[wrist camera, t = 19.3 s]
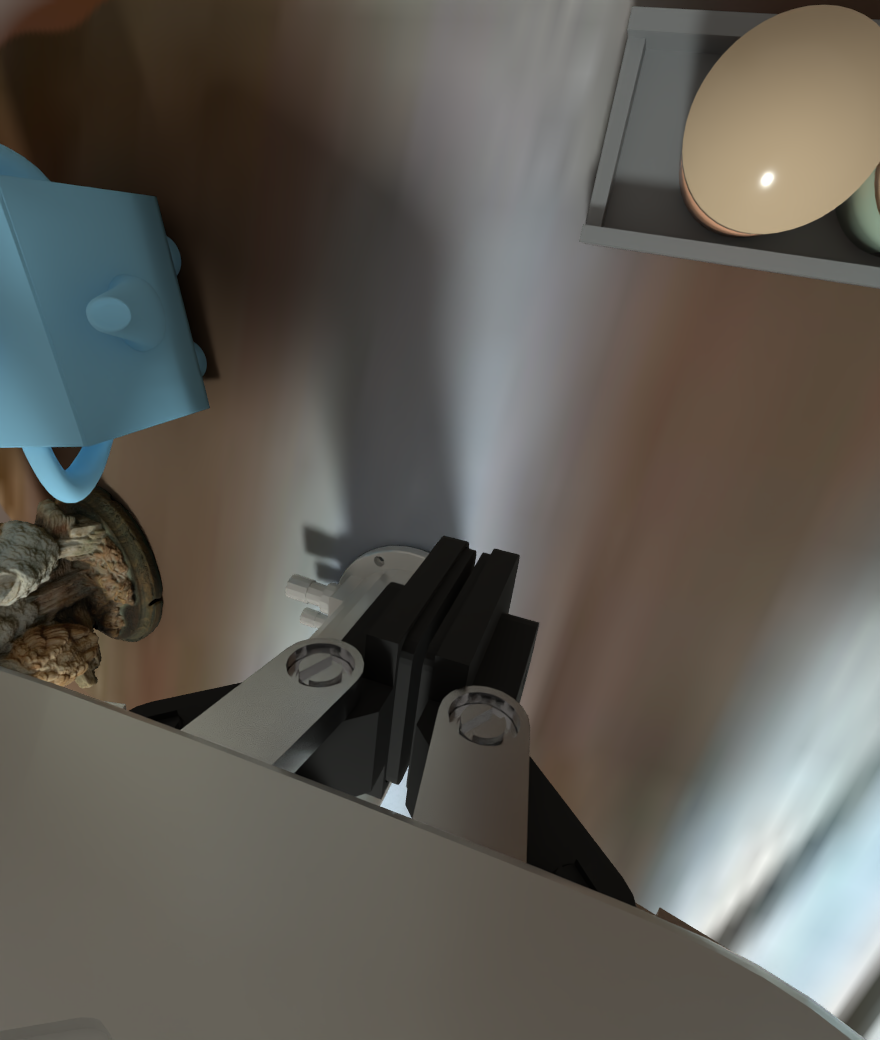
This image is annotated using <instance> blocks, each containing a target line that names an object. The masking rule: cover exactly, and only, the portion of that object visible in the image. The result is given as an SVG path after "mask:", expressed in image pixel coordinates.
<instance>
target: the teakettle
mask: <svg viewBox="0 0 880 1040" xmlns="http://www.w3.org/2000/svg"><path fill="white" fill-rule="evenodd" d="M180 268H181V256H180V252H179V250H178V248H177V246H176V244H175V243H174V242H173V241H172V239H170V238H169V237H167V236H166V232H165V228H164V224H163V220H162V216H161V212H160V209H159V205H158V201H157V197H156V196H149V195H142V194H135V193H127V192H120V191H113V190H106V189H99V188H92V187H84V186H77V185H70V184H63V183H56V182H51V181H50V180H49V179H48V178H47V177H46V176H45V175H44V174H43V173H42V172H41V171H40V170H39V169H38V168H37V167H36V166H35V165H33V164H32V163H31V162H30V161H28V160H27V159H26V158H24V157H23V156H21V155H20V154H18V153H16V152H15V151H13V150H11V149H9V148H8V147H6V146H4V145H1V144H0V448H10V447H22V449H23V451H24V453H25V455H26V457H27V459H28V461H29V463H30V465H31V467H32V469H33V471H34V472H35V474H36V476H37V477H38V479H39V480H40V482H41V483H42V485H43V486H44V487H45V489H46V490H47V491H48V492H49V493H50V494H51V495H52V496H53V497H54V498H56V499H58V500H60V501H62V502H65V503H76V502H79V501H81V500H83V499H84V498H85V497H87V496H88V495H89V494H90V493H91V491H92V490H93V489H94V487H95V486H96V484H97V482H98V481H99V479H100V477H101V475H102V473H103V471H104V468H105V465H106V462H107V459H108V456H109V453H110V449H111V446H112V442H113V439H114V438H117V437H121V436H124V435H127V434H130V433H133V432H136V431H139V430H142V429H146V428H149V427H152V426H155V425H158V424H161V423H164V422H167V421H170V420H174V419H177V418H180V417H183V416H186V415H189V414H192V413H195V412H199V411H202V410H205V409H208V408H210V406H209V402H208V398H207V394H206V390H205V386H204V382H203V378H202V376H203V375H204V374H205V372H206V368H207V362H206V357H205V354H204V352H203V351H202V349H201V348H200V347H199V346H198V345H197V344H196V343H195V342H193V339H192V335H191V331H190V327H189V323H188V319H187V315H186V311H185V307H184V303H183V299H182V295H181V291H180V287H179V283H178V279H177V275H178V273H179V271H180ZM51 447H82V448H81V450H80V452H79V453H78V455H77V457H76V458H75V460H74V461H73V462H72V464H71V465H70V466H69V467H68V468H67V469H66V470H64V469H63V468H62V466H61V465H60V463H59V462H58V460H57V458H56V456H55V454H54V452H53V450H52V448H51Z"/></svg>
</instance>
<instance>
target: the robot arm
mask: <svg viewBox="0 0 880 1040" xmlns="http://www.w3.org/2000/svg"><path fill="white" fill-rule="evenodd" d="M519 557H520V556H519V555H518V554H514V553H510V552H506V551H502V550H498V549H494V550H493V551H492V553H491V554H487V553H482V555H481V557H480V558H479V560H478V562H477V563H476V565H475V560H476V551H475V550H472V549H469V543H468V542H467V541H463V540H459V539H455V538H451V537H447V536H443V537H442V538H441V539H440V540H439V542H438V543H437V544H436V546H435V547H434V548H433V549H432V551H431V552H430V553H428V552H425V551H423V550H420V549H416V548H411V547H407V546H386V547H380V548H376V549H373V550H371V551H369V552H366V553H364V554H363V555H362V556H360V557H359V558H357V559H356V560H355V561H354V562H353V563H352V564H351V565H350V566H349V567H348V568H347V569H346V571H345V572H344V574H343V575H342V577H341V578H340V581H339V583H338V584H336V583H332V582H331V583H330V584H328V585H324V584H321V583H318V582H316V581H315V580H312V579H309V578H306V577H303V576H300V575H297V574H294V575H293V576H292V577H291V578H290V579H289V581H288V583H287V586H286V591H285V593H286V596H287V597H289V598H292V599H295V600H298V601H301V602H304V603H307V604H308V603H310V604H313V605H316V606H319V607H320V611H321V612H322V613H325V614H328V615H325V614H322V613H321V612H319V611H316V610H313V609H310V608H305V609H304V610H303V611H302V614H301V616H300V623H301V624H304V625H307V626H310V627H313V628H318V630H317V631H316V632H315V633H314V634H313V635H312V636H311V637H310V638H309V639H307V640H304V641H300V642H297V643H295V644H293V645H292V646H290V647H288V648H287V649H285V650H284V651H283V652H281V653H280V654H279V655H278V656H276V657H275V658H274V659H272V660H271V661H270V662H268V663H267V664H266V665H264V666H263V667H262V668H261V669H259V670H258V671H257V672H255V673H254V674H253V675H251V676H250V677H249V678H248V679H246V680H245V681H244V682H242V683H237V684H233V685H228V686H223V687H219V688H214V689H209V690H205V691H200V692H195V693H191V694H186V695H181V696H177V697H172V698H167V699H162V700H158V701H153V702H150V703H146V704H143V705H140V706H137V707H135V708H133V709H131V710H129V711H127V710H126V704H119V703H113V702H106V701H101V700H98V699H95V698H92V697H90V696H87V695H84V694H81V693H78V692H76V691H73V690H70V689H67V688H65V687H62V686H59V685H56V684H54V683H50V682H47V681H44V680H41V679H38V678H35V677H32V676H29V675H26V674H23V673H20V672H17V671H14V670H11V669H7V668H4V667H1V666H0V1040H866V1039H864V1038H863V1037H862V1036H860V1035H859V1034H858V1033H856V1032H855V1031H854V1030H852V1029H851V1028H850V1027H849V1026H847V1025H846V1024H845V1023H843V1022H842V1021H841V1020H839V1019H838V1018H837V1017H835V1016H834V1015H833V1014H831V1013H830V1012H829V1011H827V1010H826V1009H825V1008H823V1007H822V1006H821V1005H820V1004H818V1003H817V1002H816V1001H814V1000H813V999H811V998H810V997H808V996H807V995H805V994H804V993H802V992H800V991H799V990H797V989H796V988H794V987H792V986H791V985H789V984H788V983H786V982H784V981H783V980H781V979H780V978H778V977H776V976H775V975H773V974H772V973H770V972H769V971H767V970H765V969H764V968H762V967H761V966H759V965H757V964H755V963H753V962H751V961H749V960H748V959H746V958H744V957H742V956H740V955H738V954H736V953H734V952H732V951H731V950H729V949H727V948H726V947H724V946H722V945H721V944H719V943H718V942H716V941H714V940H713V939H711V938H709V937H708V936H706V935H704V934H703V933H701V932H699V931H698V930H696V929H694V928H693V927H691V926H690V925H688V924H686V923H685V922H683V921H681V920H680V919H678V918H676V917H675V916H673V915H671V914H670V913H668V912H666V911H665V910H663V909H662V908H659V910H658V912H657V914H656V915H655V914H653V913H652V912H650V911H648V910H647V909H645V908H643V907H642V906H640V905H639V904H637V903H635V900H634V897H633V894H632V892H631V891H630V889H629V887H628V886H627V884H626V882H625V881H624V879H623V877H622V876H621V875H620V873H619V872H618V871H617V869H616V868H615V867H614V866H613V864H612V863H611V862H610V860H609V859H608V858H607V856H606V855H605V854H604V852H603V851H602V850H601V849H600V847H599V846H598V845H597V843H596V842H595V841H594V839H593V838H592V837H591V835H590V834H589V833H588V832H587V830H586V829H585V828H584V826H583V825H582V824H581V822H580V821H579V820H578V819H577V817H576V816H575V815H574V813H573V812H572V811H571V809H570V808H569V807H568V805H567V804H566V803H565V802H564V800H563V799H562V798H561V796H560V795H559V794H558V792H557V791H556V790H555V788H554V787H553V786H552V785H551V783H550V782H549V781H548V779H547V778H546V777H545V775H544V774H543V773H542V771H541V770H540V769H539V768H538V766H537V765H536V764H535V762H534V761H533V760H532V758H531V757H530V756H529V752H530V724H529V718H528V715H527V714H526V712H525V710H524V709H523V707H522V706H521V705H520V704H519V703H520V699H521V696H522V692H523V689H524V685H525V681H526V677H527V673H528V669H529V665H530V661H531V657H532V653H533V649H534V644H535V640H536V636H537V632H538V627H539V623H538V622H535V621H531V620H528V619H524V618H520V617H517V616H513V615H510V614H508V613H509V608H510V603H511V598H512V593H513V588H514V583H515V578H516V573H517V569H518V564H519ZM474 566H475V567H474ZM408 766H409V769H408V777H407V785H406V787H407V788H408V789H407V796H406V803H405V805H406V807H407V809H408V811H409V813H410V815H411V817H412V819H411V818H409V817H406V816H404V815H401V814H398V813H396V812H393V811H391V810H388V809H386V808H383V807H380V805H381V803H382V801H383V799H384V797H385V796H386V794H387V792H388V790H389V788H390V786H391V784H392V783H394V784H397V785H399V784H400V782H401V780H402V779H403V776H404V774H405V772H406V770H407V768H408Z"/></svg>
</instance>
